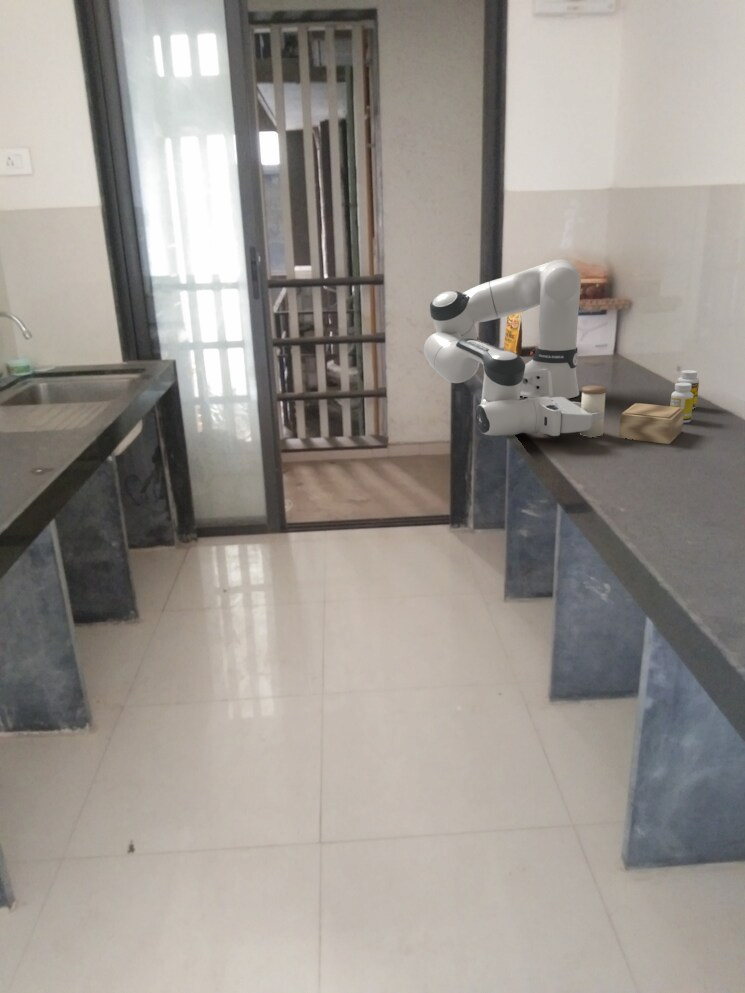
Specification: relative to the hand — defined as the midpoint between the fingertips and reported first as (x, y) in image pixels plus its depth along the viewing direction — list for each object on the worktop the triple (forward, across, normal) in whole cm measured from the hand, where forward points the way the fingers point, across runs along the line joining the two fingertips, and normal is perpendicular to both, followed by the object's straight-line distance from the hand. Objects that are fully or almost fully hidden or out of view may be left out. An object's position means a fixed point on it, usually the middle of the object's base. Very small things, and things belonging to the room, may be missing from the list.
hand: (595, 410), depth 193 cm
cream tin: (-1, 0, -6) cm, 6 cm away
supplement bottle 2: (+26, -6, -6) cm, 27 cm away
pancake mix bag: (+15, -113, -6) cm, 114 cm away
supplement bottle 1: (+34, -17, -6) cm, 38 cm away
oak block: (+13, +4, -6) cm, 15 cm away
